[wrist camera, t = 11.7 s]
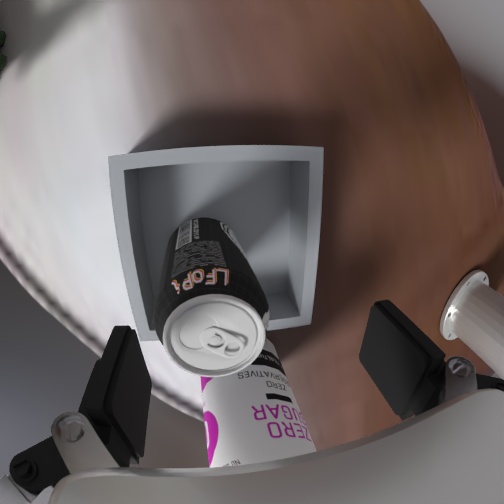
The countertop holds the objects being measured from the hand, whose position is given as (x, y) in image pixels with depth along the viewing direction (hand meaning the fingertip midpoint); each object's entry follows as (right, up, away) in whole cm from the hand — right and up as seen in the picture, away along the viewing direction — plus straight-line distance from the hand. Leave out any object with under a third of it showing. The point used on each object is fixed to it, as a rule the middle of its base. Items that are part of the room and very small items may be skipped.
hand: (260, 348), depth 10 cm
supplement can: (-2, -8, +19) cm, 20 cm away
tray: (-3, +5, +13) cm, 14 cm away
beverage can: (-4, +4, +13) cm, 14 cm away
